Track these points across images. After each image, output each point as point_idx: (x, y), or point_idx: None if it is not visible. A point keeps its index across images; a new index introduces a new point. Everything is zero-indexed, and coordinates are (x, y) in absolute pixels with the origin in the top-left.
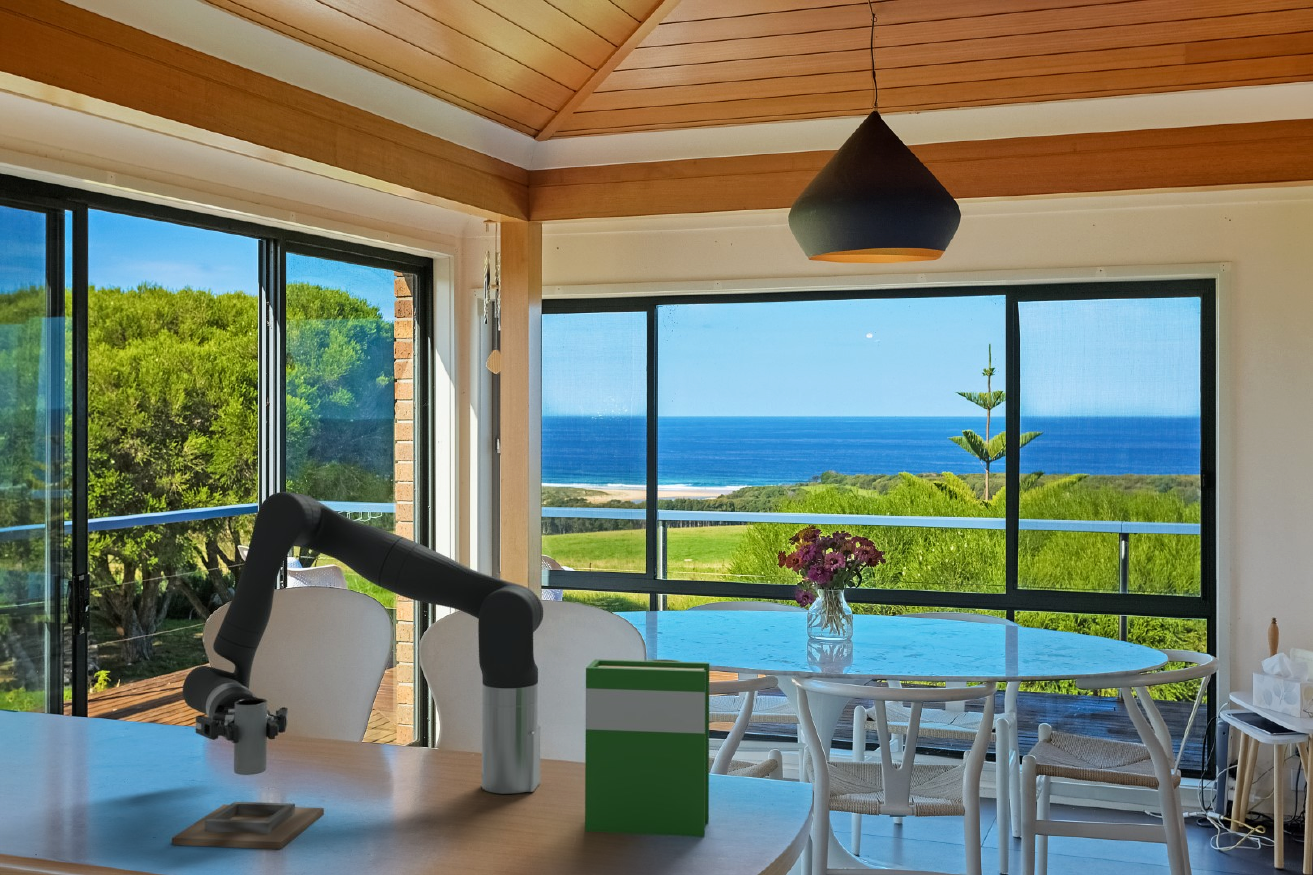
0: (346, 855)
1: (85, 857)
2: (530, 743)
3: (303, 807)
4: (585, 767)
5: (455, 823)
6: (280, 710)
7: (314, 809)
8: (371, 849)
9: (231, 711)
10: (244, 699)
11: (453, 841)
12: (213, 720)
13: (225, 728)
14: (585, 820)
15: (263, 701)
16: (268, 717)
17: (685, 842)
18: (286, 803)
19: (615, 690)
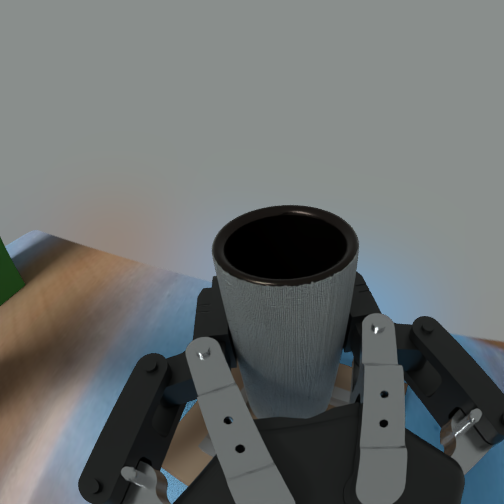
0: (189, 298)
1: (486, 358)
2: None
3: (179, 478)
4: (2, 242)
5: (57, 339)
6: (119, 458)
7: (165, 457)
8: (160, 305)
9: (387, 444)
10: (319, 272)
11: (92, 298)
12: (437, 350)
13: (373, 301)
14: (21, 278)
15: (226, 254)
16: (209, 350)
17: (21, 255)
18: (212, 454)
19: None
